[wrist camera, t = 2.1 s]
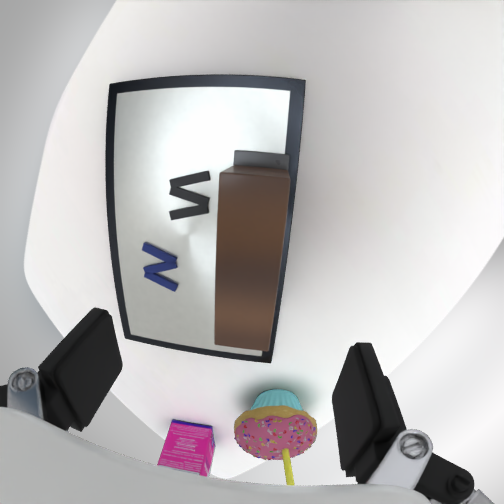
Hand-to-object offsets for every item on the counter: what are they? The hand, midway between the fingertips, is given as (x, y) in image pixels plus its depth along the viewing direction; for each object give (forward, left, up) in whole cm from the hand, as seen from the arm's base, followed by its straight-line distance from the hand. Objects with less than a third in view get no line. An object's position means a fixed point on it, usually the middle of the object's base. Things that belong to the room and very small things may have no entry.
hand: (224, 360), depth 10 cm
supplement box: (+29, -6, -13) cm, 32 cm away
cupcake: (+19, +4, -13) cm, 23 cm away
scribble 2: (-3, -5, -12) cm, 13 cm away
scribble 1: (+3, -7, -12) cm, 14 cm away
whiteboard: (0, -5, -13) cm, 14 cm away
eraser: (0, 0, -12) cm, 12 cm away
